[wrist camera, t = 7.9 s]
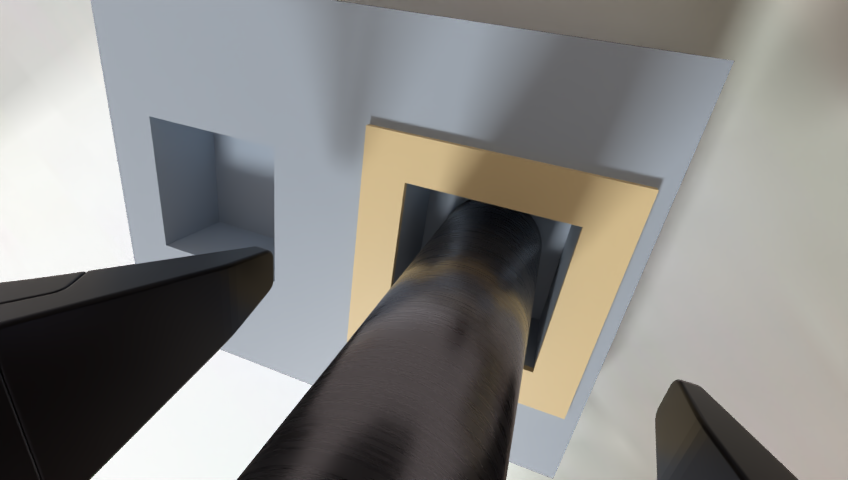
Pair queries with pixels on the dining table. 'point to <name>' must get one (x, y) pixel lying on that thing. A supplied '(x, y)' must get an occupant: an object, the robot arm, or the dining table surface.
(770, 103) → the dining table surface
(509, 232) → the pin
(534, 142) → the socket board
